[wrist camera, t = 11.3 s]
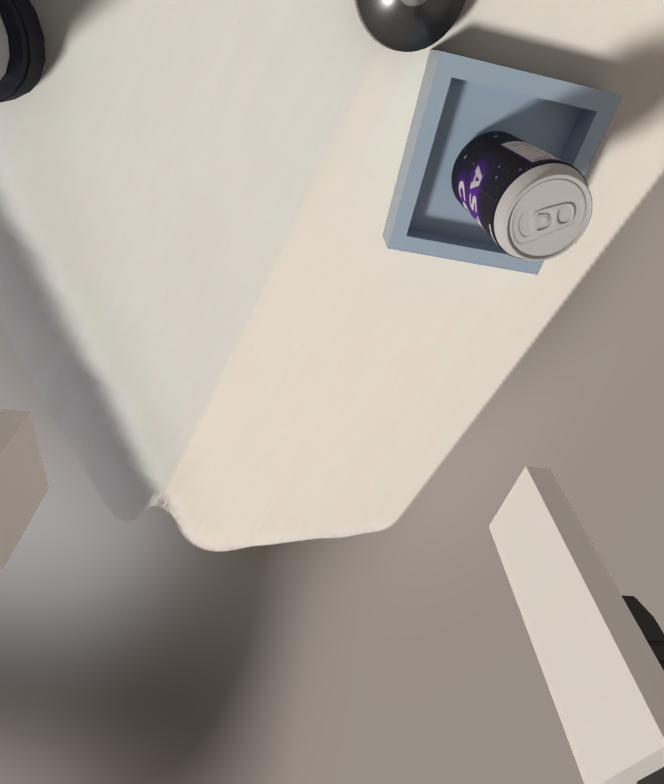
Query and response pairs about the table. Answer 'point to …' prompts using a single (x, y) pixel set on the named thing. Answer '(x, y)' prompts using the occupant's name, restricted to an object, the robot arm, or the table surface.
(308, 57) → the table surface
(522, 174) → the beverage can
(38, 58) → the humidifier
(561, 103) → the tray
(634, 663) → the robot arm
